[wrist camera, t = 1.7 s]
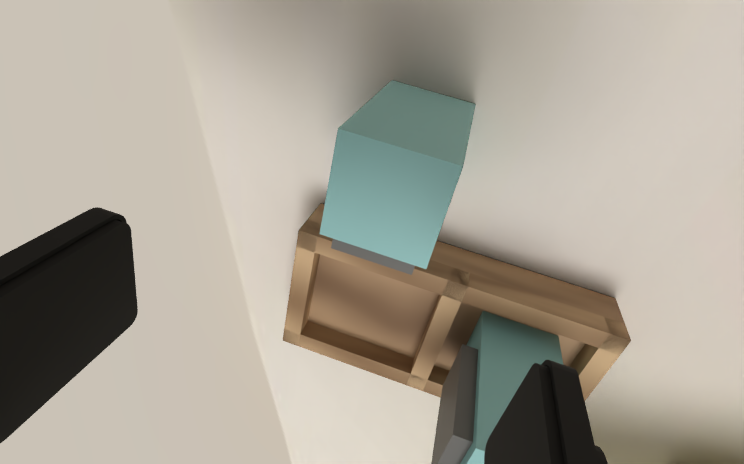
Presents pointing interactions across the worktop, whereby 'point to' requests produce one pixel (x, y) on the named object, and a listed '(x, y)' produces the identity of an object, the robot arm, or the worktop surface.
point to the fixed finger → (486, 384)
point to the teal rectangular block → (396, 175)
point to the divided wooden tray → (437, 311)
